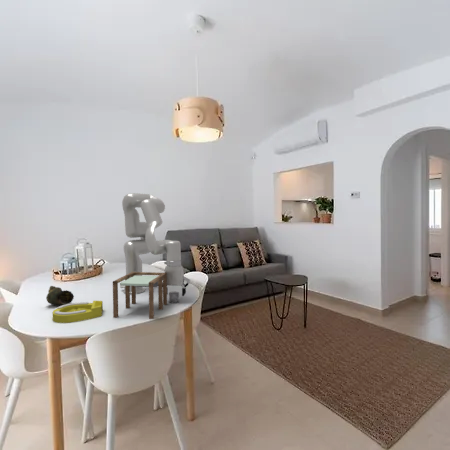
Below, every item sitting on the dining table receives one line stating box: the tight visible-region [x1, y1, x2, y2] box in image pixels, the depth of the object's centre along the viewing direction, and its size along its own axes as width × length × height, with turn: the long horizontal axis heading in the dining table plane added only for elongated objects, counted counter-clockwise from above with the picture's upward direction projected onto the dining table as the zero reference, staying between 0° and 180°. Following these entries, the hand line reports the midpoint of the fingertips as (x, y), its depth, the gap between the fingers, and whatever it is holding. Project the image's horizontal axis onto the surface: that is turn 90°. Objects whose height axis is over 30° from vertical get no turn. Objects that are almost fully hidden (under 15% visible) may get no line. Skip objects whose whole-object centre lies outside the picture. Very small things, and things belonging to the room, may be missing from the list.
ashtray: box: [52, 300, 104, 324], centre depth 133 cm, size 16×21×5 cm
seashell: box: [46, 285, 75, 306], centre depth 147 cm, size 11×11×10 cm
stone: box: [168, 290, 180, 304], centre depth 153 cm, size 5×5×5 cm
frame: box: [112, 271, 168, 320], centre depth 140 cm, size 19×21×17 cm
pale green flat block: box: [119, 275, 159, 288], centre depth 139 cm, size 15×16×5 cm
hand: (174, 295), depth 153 cm, fingers open, 9 cm apart
